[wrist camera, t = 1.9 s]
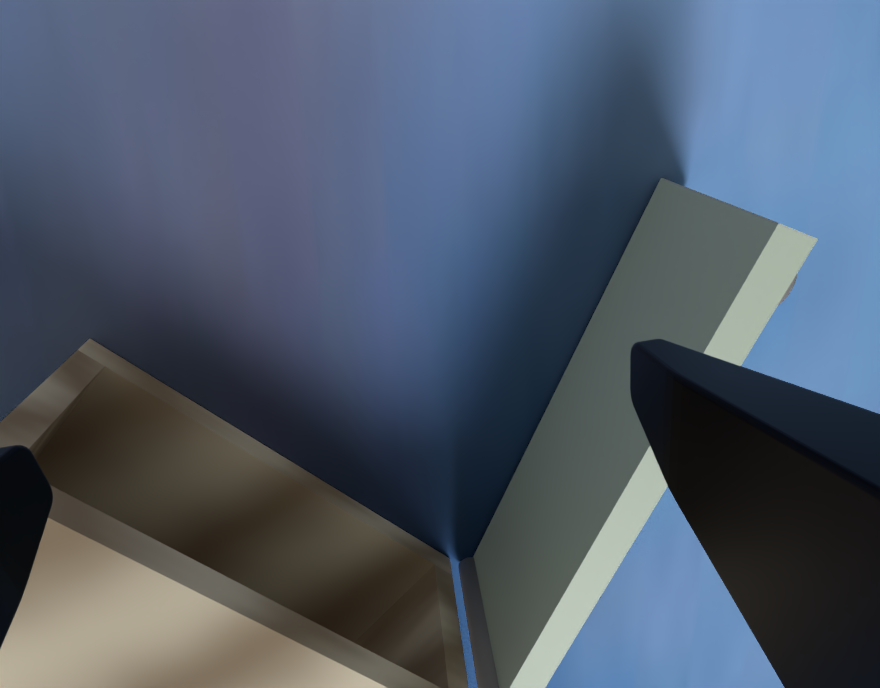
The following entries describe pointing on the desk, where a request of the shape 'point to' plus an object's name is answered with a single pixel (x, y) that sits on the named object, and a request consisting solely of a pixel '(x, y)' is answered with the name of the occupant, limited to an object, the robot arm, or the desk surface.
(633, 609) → the desk surface
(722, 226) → the door
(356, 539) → the cabinet
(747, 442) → the robot arm
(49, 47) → the desk surface
